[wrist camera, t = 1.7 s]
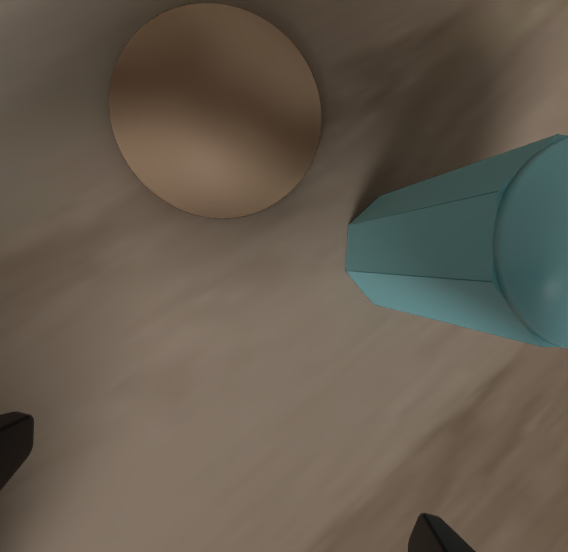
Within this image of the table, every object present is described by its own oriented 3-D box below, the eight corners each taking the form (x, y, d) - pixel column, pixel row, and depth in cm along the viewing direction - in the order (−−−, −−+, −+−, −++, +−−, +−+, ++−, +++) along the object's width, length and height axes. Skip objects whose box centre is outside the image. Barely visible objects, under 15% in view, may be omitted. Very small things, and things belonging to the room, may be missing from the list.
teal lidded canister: (442, 307, 23) (678, 354, 12) (342, 303, 22) (497, 351, 11) (450, 201, 23) (696, 145, 12) (349, 191, 22) (515, 117, 11)
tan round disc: (311, 226, 22) (315, 224, 21) (107, 209, 20) (103, 207, 19) (322, 32, 21) (327, 23, 21) (117, -6, 19) (114, -17, 18)
